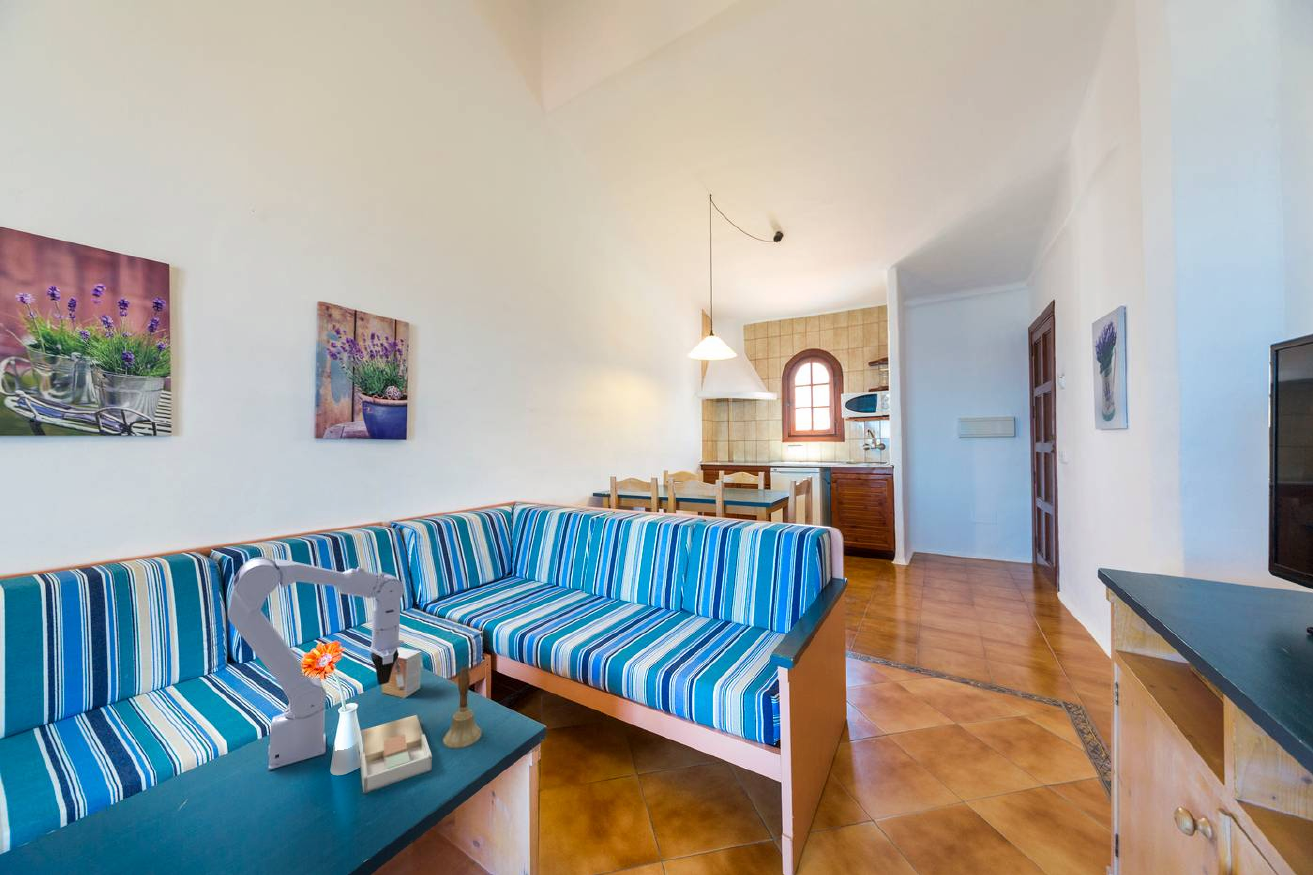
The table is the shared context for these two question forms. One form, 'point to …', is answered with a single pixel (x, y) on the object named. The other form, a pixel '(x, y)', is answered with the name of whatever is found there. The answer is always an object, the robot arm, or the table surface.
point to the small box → (404, 673)
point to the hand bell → (463, 719)
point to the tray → (395, 768)
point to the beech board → (390, 736)
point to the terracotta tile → (394, 746)
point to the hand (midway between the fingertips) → (383, 682)
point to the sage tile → (396, 759)
